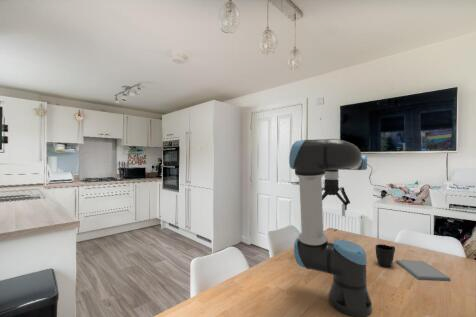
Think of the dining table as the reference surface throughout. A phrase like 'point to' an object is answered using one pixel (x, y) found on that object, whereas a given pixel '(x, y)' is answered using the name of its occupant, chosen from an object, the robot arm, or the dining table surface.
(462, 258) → the dining table surface
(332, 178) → the robot arm
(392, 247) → the mug
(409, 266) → the slate board
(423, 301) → the dining table surface
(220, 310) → the dining table surface
